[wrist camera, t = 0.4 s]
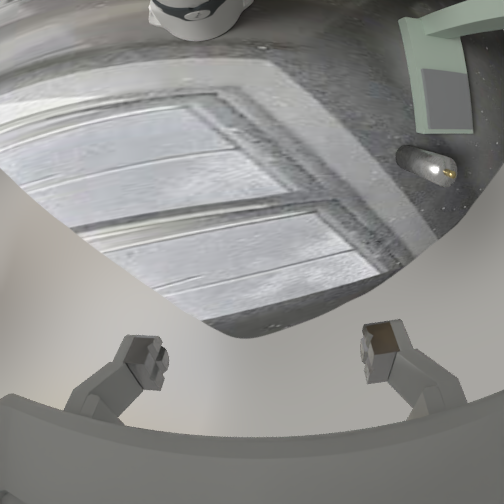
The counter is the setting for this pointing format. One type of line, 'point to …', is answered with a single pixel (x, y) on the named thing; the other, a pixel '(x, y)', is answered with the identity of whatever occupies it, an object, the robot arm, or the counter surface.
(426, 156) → the housing
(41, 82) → the counter surface
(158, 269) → the counter surface
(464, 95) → the press
